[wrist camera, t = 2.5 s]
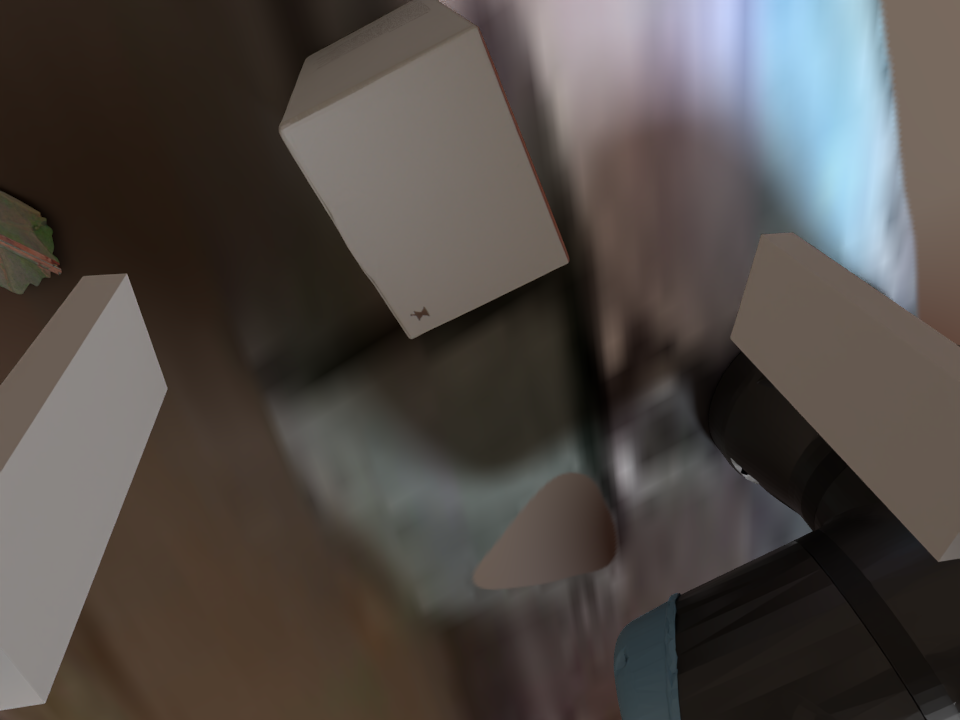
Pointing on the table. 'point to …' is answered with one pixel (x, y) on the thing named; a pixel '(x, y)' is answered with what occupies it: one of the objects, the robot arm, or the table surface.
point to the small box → (422, 165)
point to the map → (24, 246)
